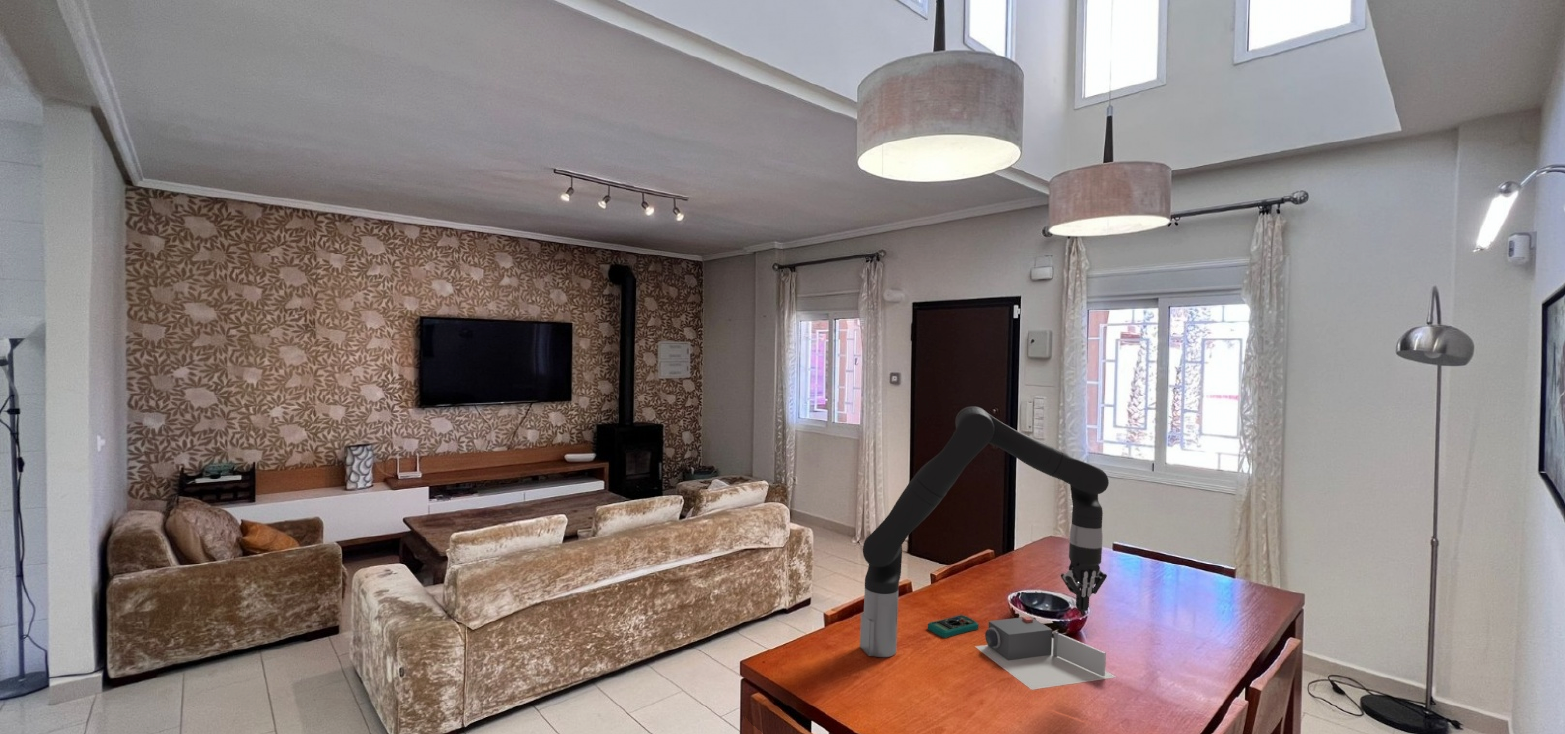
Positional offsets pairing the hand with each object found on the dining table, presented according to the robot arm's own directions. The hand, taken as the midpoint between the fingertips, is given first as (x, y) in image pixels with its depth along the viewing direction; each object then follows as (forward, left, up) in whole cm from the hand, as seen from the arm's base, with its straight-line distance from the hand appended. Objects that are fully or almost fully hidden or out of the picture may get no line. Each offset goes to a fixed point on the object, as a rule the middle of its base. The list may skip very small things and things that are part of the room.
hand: (1082, 609), depth 163 cm
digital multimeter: (-16, +34, -18) cm, 41 cm away
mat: (-3, +10, -18) cm, 21 cm away
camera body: (-5, +17, -17) cm, 25 cm away
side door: (+4, +5, -17) cm, 18 cm away
